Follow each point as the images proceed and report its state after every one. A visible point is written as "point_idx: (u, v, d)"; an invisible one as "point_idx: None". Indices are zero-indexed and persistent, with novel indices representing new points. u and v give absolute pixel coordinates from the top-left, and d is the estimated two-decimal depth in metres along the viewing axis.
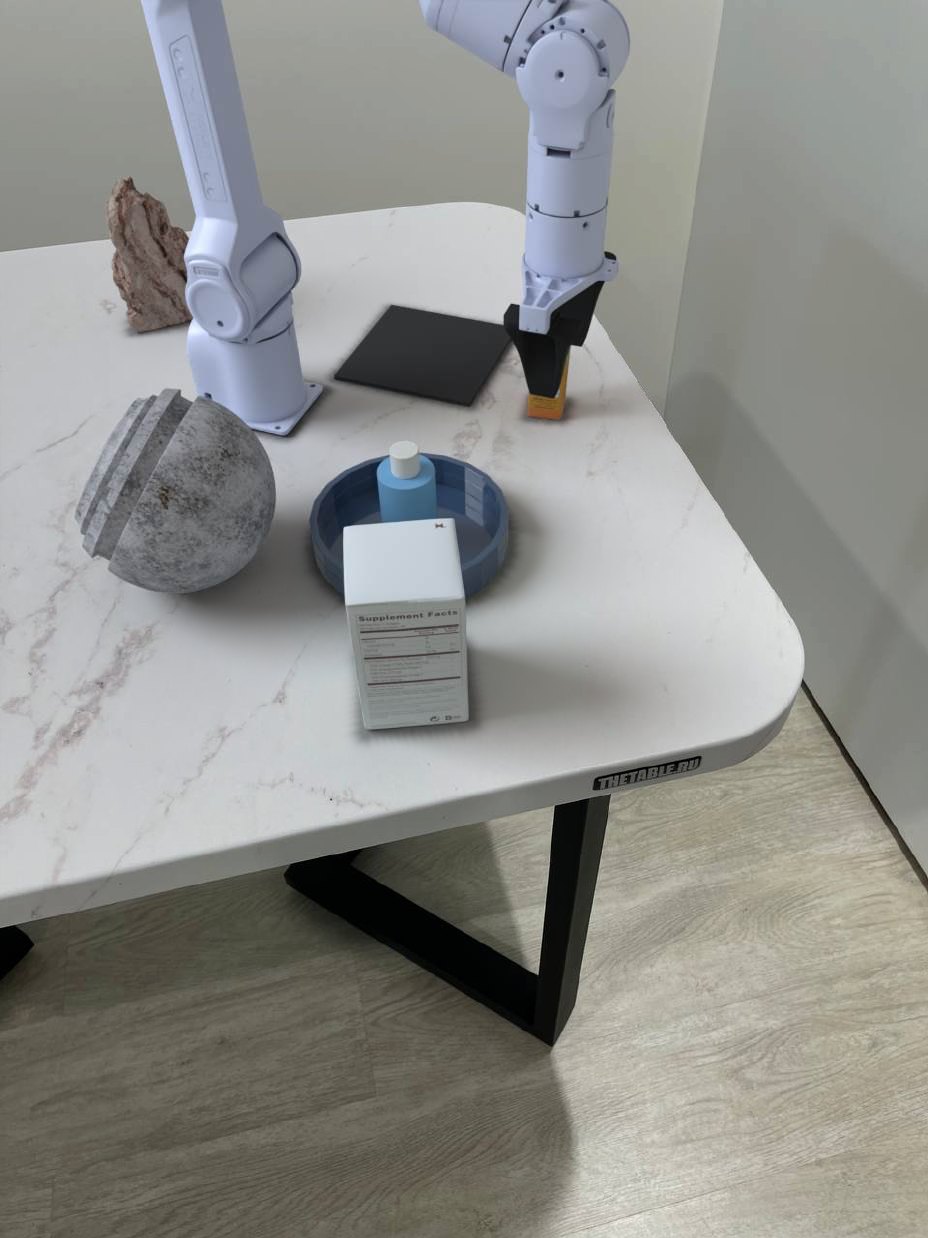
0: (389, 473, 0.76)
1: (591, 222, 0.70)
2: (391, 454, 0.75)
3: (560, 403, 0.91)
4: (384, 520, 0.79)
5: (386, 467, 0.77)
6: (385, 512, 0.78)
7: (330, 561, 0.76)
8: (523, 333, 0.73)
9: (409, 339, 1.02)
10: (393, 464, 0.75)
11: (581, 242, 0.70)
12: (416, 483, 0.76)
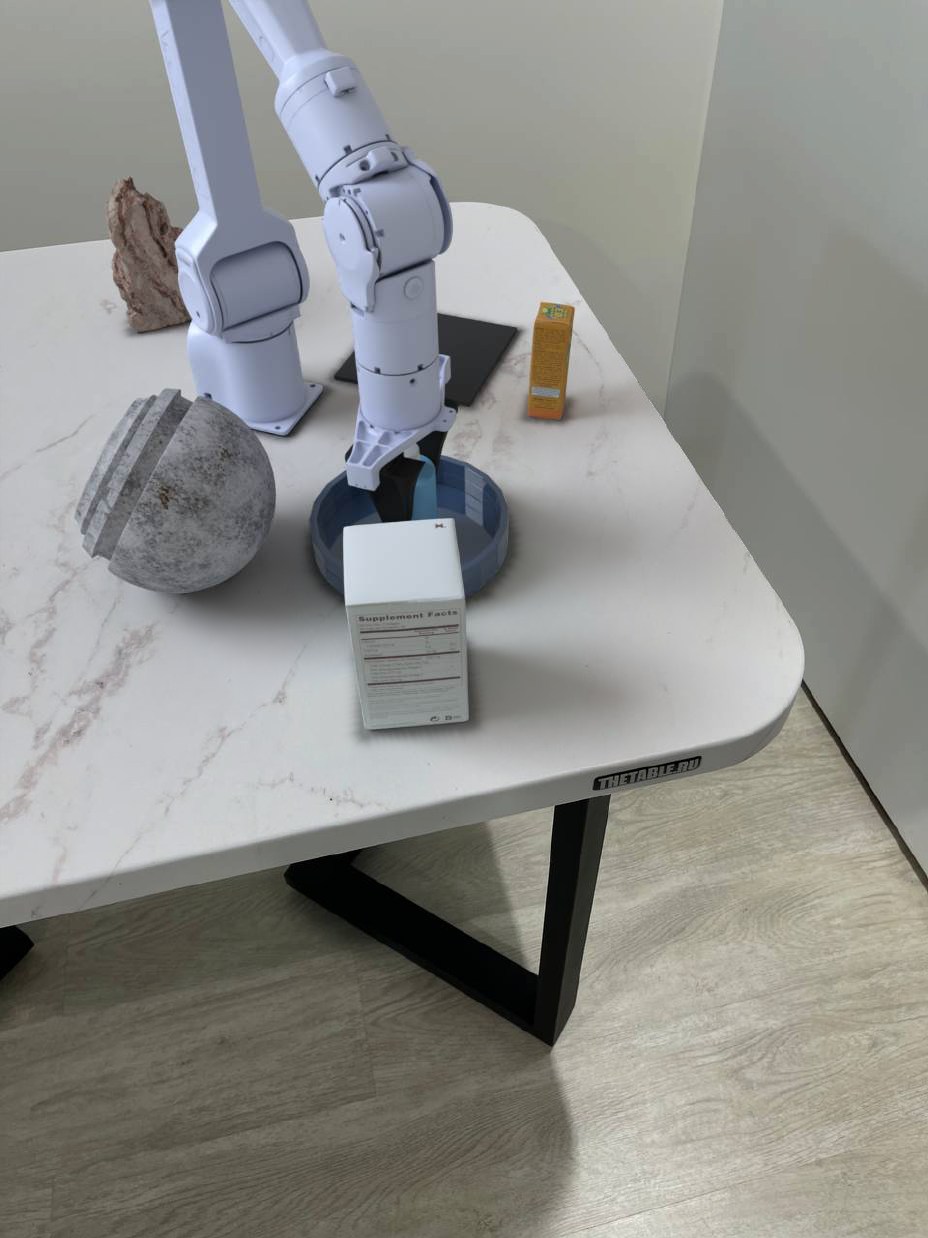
0: None
1: (418, 378, 0.68)
2: None
3: (560, 403, 0.91)
4: None
5: None
6: None
7: (330, 561, 0.76)
8: None
9: None
10: None
11: (410, 397, 0.69)
12: (416, 483, 0.76)
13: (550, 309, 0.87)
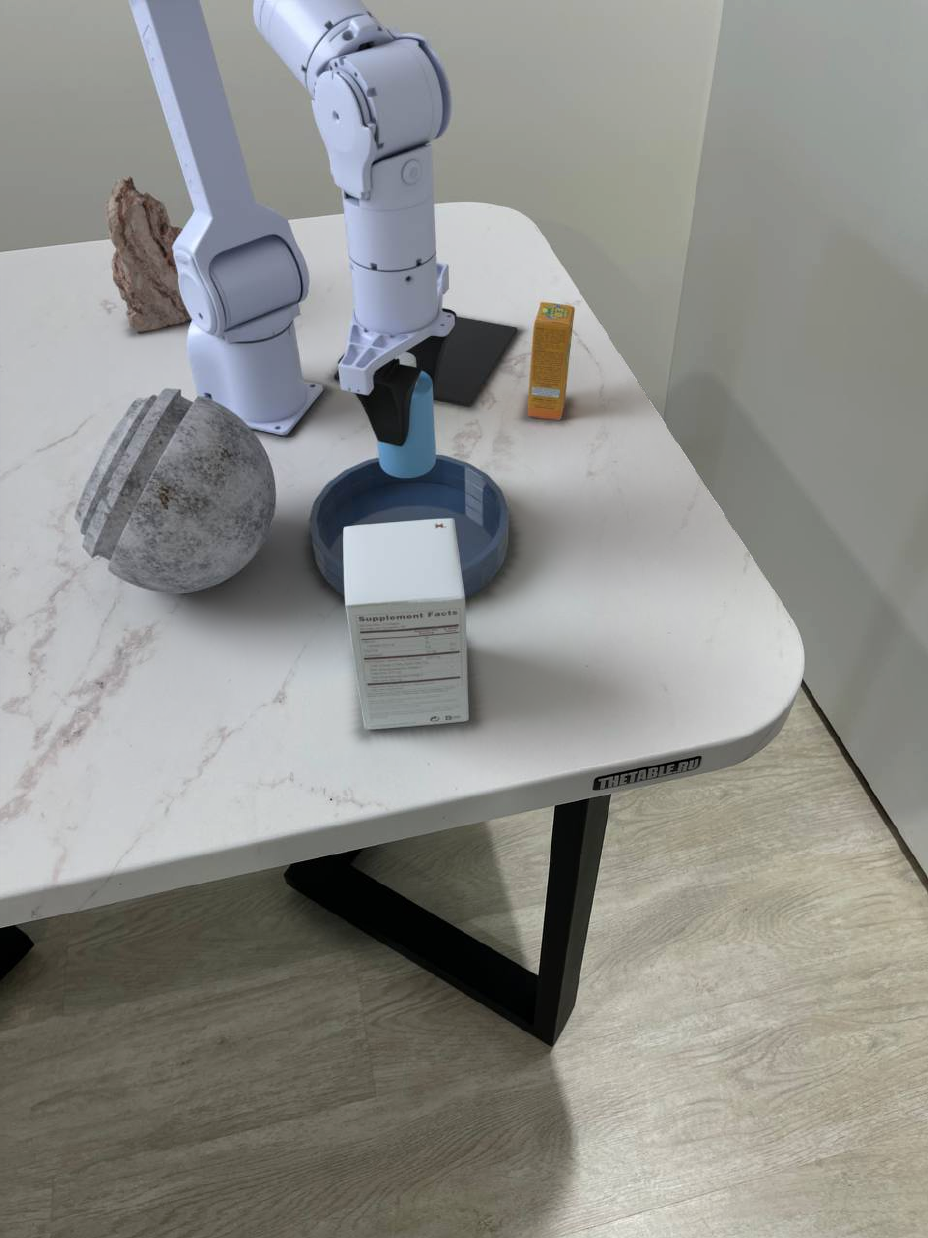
0: None
1: (415, 276, 0.65)
2: None
3: (560, 403, 0.91)
4: None
5: None
6: None
7: (330, 561, 0.76)
8: None
9: None
10: None
11: (406, 296, 0.65)
12: (413, 396, 0.72)
13: (550, 309, 0.87)
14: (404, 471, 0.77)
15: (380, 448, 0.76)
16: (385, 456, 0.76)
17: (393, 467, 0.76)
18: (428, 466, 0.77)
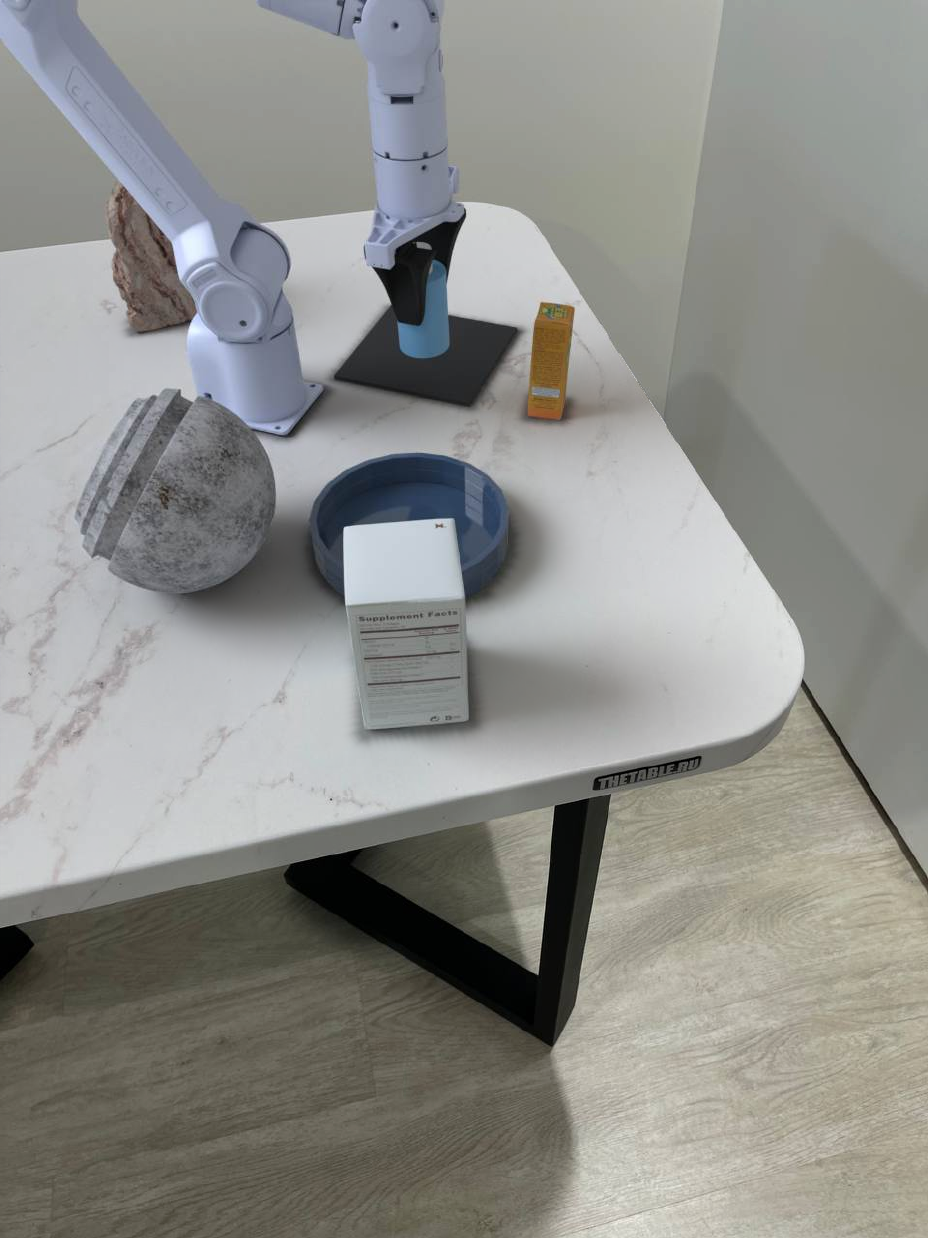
0: None
1: (429, 165, 0.76)
2: None
3: (560, 403, 0.91)
4: None
5: None
6: None
7: (330, 561, 0.76)
8: None
9: None
10: None
11: (422, 184, 0.76)
12: (429, 279, 0.83)
13: (550, 309, 0.87)
14: (422, 351, 0.87)
15: (400, 331, 0.87)
16: (405, 338, 0.87)
17: (412, 347, 0.87)
18: (442, 348, 0.88)
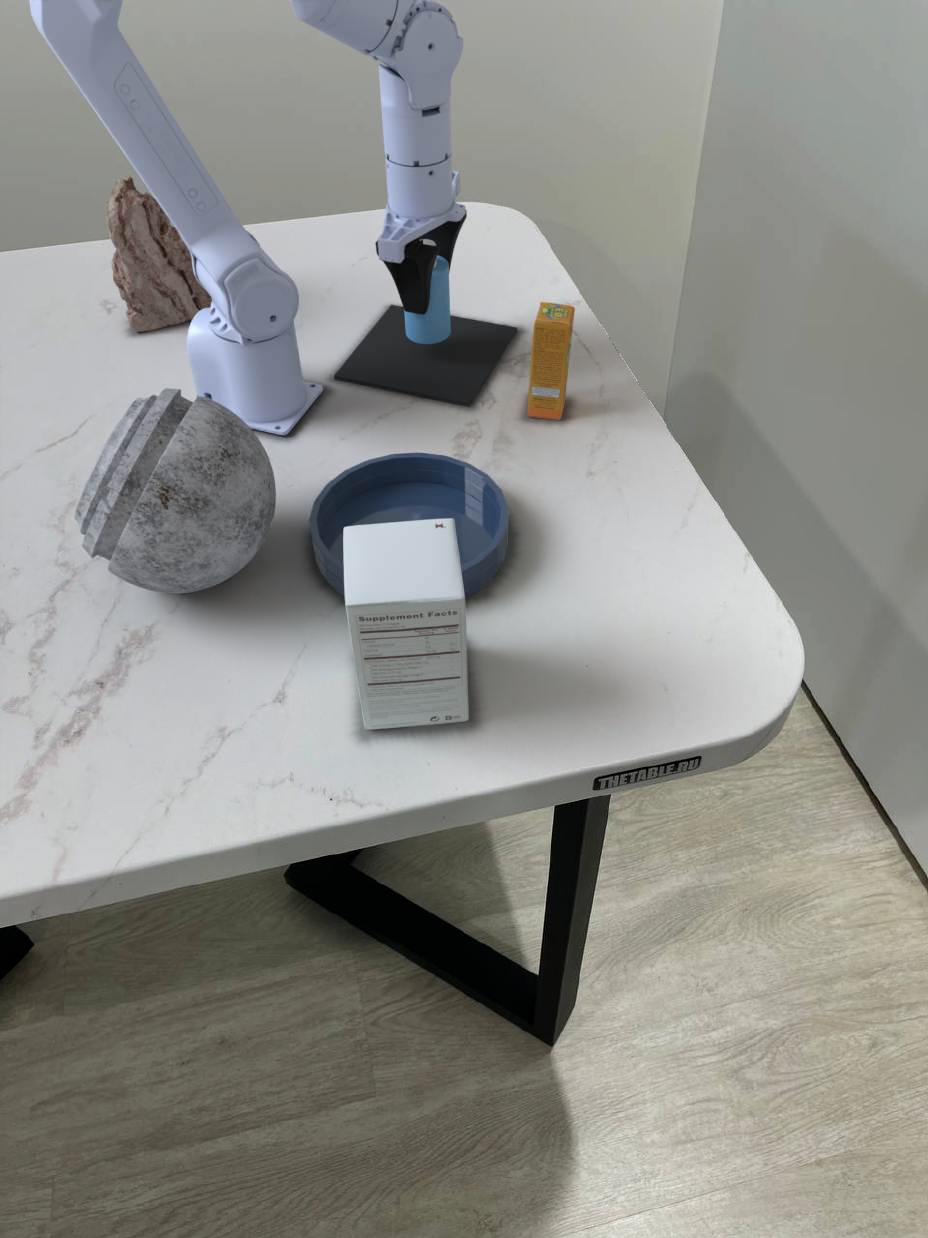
0: None
1: (435, 171, 0.85)
2: None
3: (560, 403, 0.91)
4: None
5: None
6: None
7: (330, 561, 0.76)
8: None
9: (409, 339, 1.02)
10: None
11: (428, 187, 0.86)
12: (434, 273, 0.93)
13: (550, 309, 0.87)
14: (426, 338, 0.97)
15: (407, 319, 0.97)
16: (411, 325, 0.97)
17: (417, 334, 0.97)
18: (444, 335, 0.98)
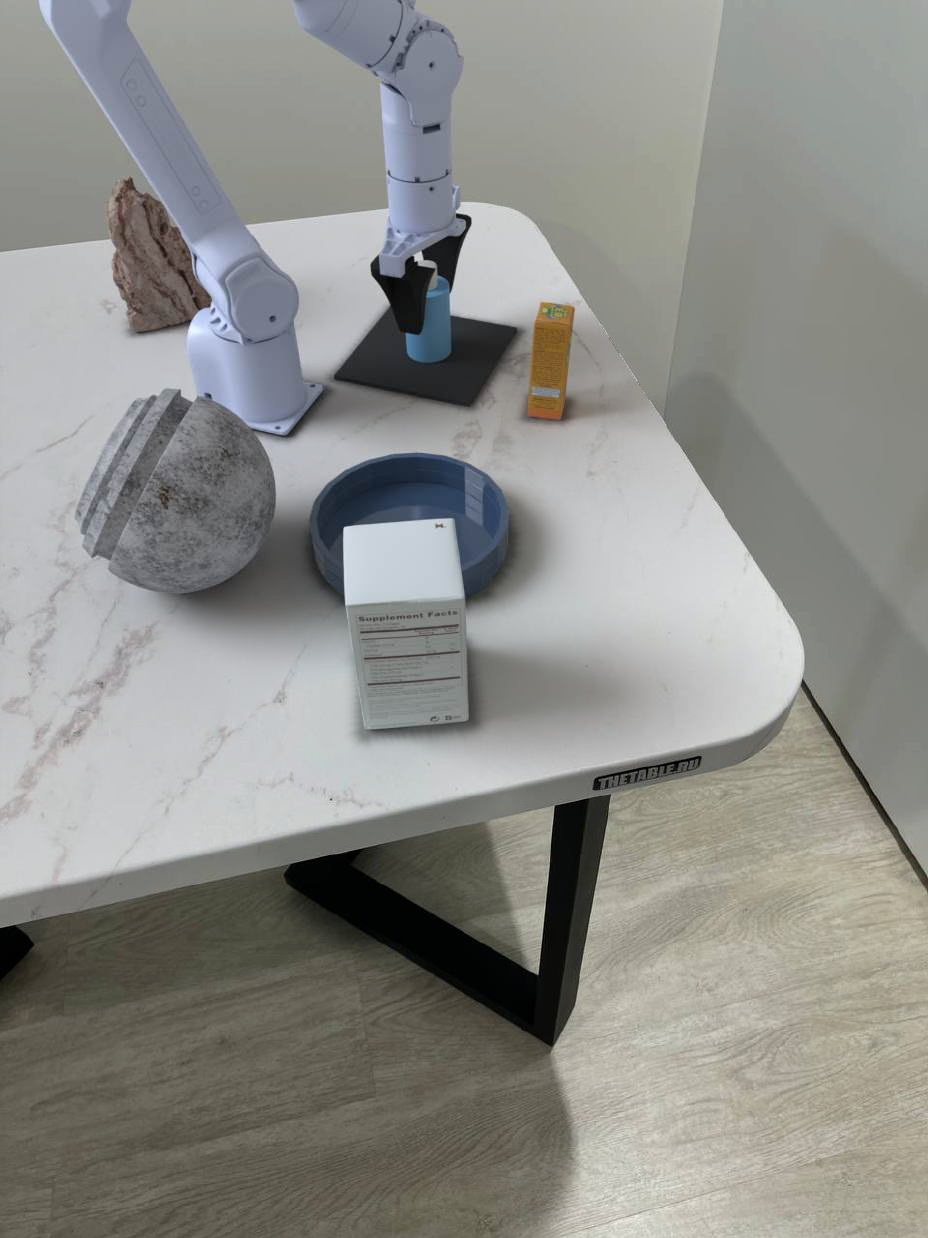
0: None
1: (436, 186, 0.86)
2: None
3: (560, 403, 0.91)
4: None
5: None
6: None
7: (330, 561, 0.76)
8: (387, 278, 0.90)
9: None
10: None
11: (429, 202, 0.87)
12: (435, 293, 0.94)
13: (550, 309, 0.87)
14: (427, 357, 0.98)
15: (408, 338, 0.98)
16: (412, 344, 0.98)
17: (418, 353, 0.98)
18: (445, 353, 0.99)
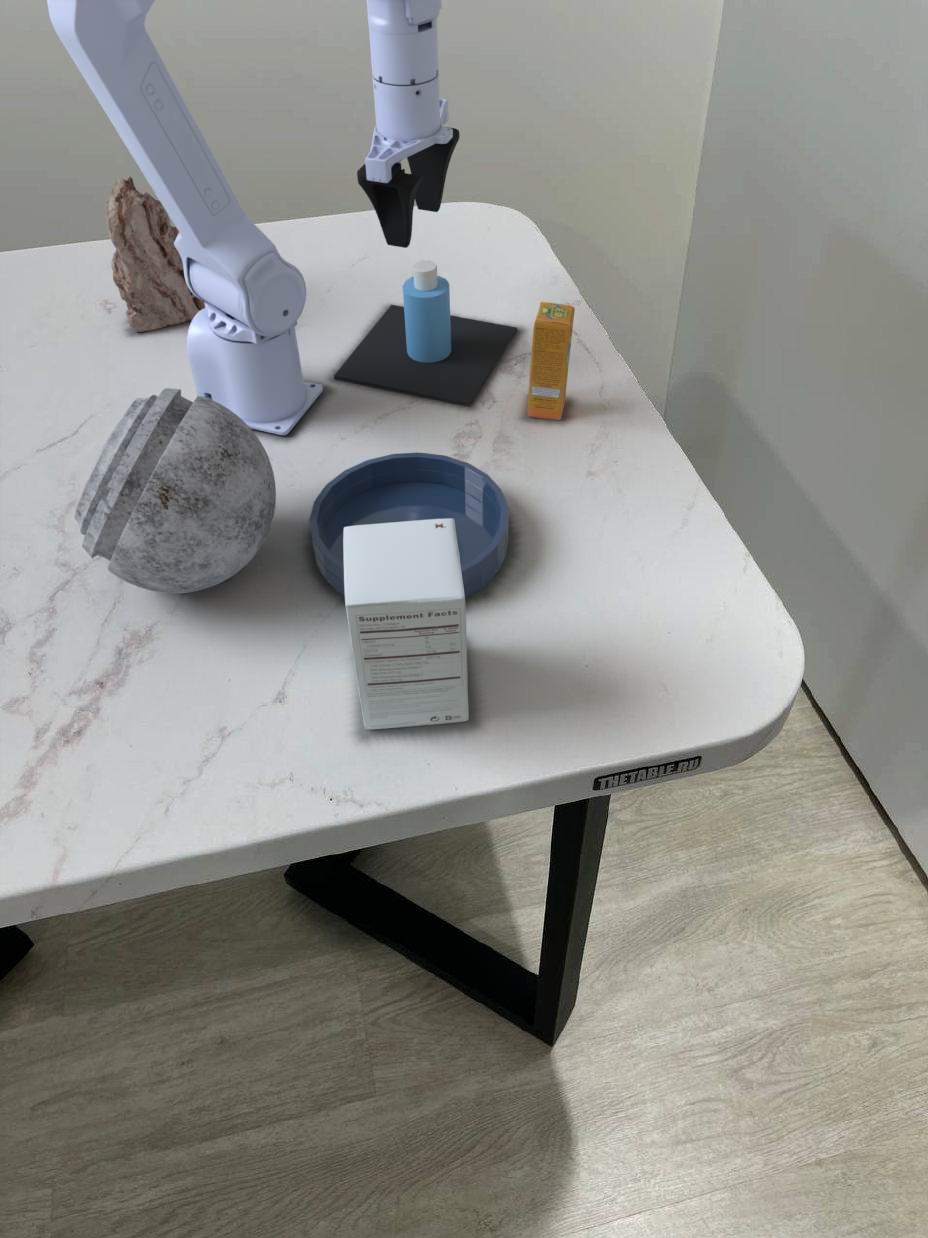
0: (412, 287, 0.95)
1: (422, 90, 0.86)
2: (414, 269, 0.94)
3: (560, 403, 0.91)
4: (408, 329, 0.97)
5: (410, 283, 0.96)
6: (409, 321, 0.97)
7: (330, 561, 0.76)
8: (373, 186, 0.89)
9: None
10: (415, 277, 0.94)
11: (416, 107, 0.87)
12: (435, 293, 0.94)
13: (550, 309, 0.87)
14: (427, 357, 0.98)
15: (408, 338, 0.98)
16: (412, 344, 0.98)
17: (418, 353, 0.98)
18: (445, 353, 0.99)
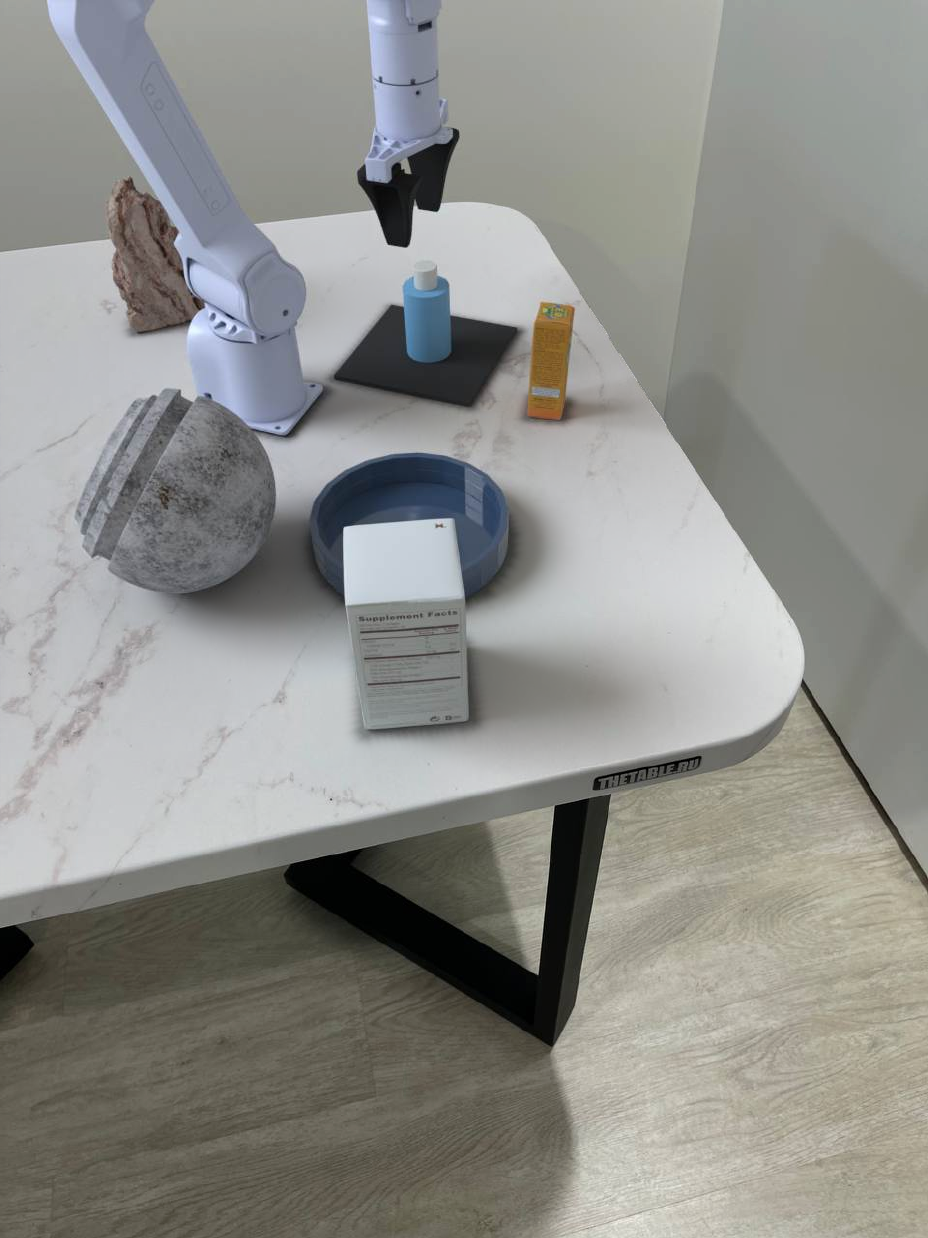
0: (412, 287, 0.95)
1: (422, 90, 0.86)
2: (414, 269, 0.94)
3: (560, 403, 0.91)
4: (408, 329, 0.97)
5: (410, 283, 0.96)
6: (409, 321, 0.97)
7: (330, 561, 0.76)
8: (373, 186, 0.89)
9: None
10: (415, 277, 0.94)
11: (416, 107, 0.87)
12: (435, 293, 0.94)
13: (550, 309, 0.87)
14: (427, 357, 0.98)
15: (408, 338, 0.98)
16: (412, 344, 0.98)
17: (418, 353, 0.98)
18: (445, 353, 0.99)
